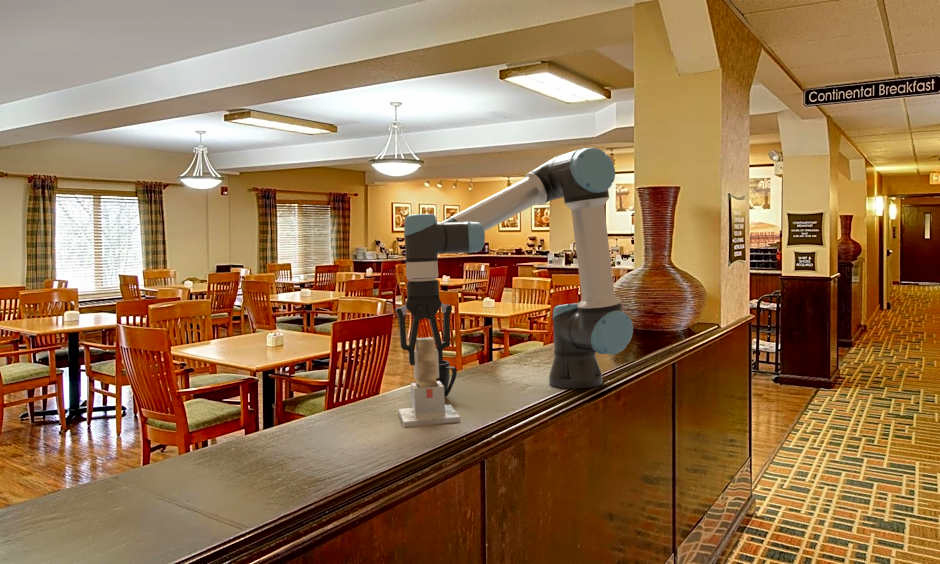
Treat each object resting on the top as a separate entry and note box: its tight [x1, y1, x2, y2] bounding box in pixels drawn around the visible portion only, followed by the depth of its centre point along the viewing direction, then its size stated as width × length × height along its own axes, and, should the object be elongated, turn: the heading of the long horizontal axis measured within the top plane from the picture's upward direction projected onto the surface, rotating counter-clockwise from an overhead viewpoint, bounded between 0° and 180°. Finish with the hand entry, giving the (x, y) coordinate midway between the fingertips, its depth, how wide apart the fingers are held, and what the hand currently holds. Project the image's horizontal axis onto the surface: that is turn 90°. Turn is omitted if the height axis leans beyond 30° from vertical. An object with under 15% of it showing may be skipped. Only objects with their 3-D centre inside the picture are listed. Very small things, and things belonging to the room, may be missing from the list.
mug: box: [436, 359, 458, 398], centre depth 181 cm, size 8×12×10 cm
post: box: [415, 336, 437, 387], centre depth 160 cm, size 4×4×19 cm
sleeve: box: [398, 381, 461, 428], centre depth 161 cm, size 13×13×8 cm
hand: (426, 377), depth 160 cm, fingers open, 4 cm apart
